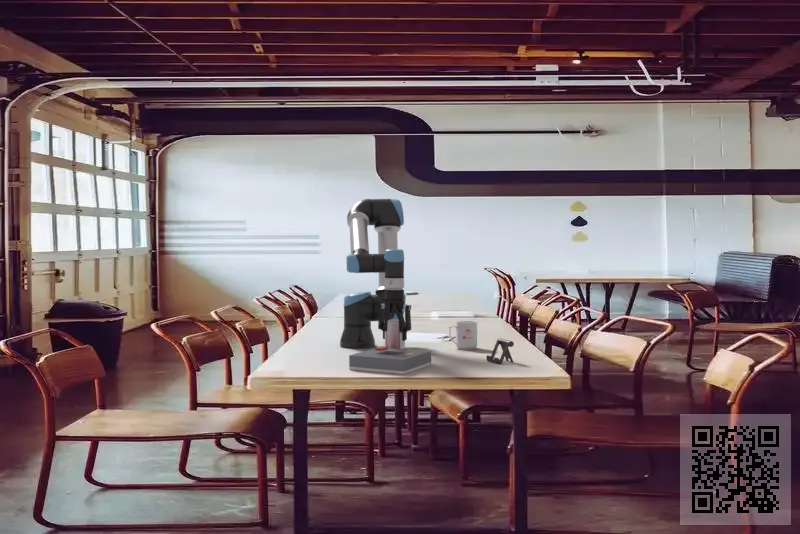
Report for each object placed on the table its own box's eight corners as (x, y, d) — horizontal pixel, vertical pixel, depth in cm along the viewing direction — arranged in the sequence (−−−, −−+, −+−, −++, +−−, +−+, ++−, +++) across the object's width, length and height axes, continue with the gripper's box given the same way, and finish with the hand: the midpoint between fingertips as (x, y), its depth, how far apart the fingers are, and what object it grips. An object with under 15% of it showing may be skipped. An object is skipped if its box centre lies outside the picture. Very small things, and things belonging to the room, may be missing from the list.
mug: (474, 346, 322) (474, 320, 322) (479, 349, 313) (479, 323, 313) (446, 347, 320) (446, 321, 320) (451, 350, 312) (451, 323, 311)
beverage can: (386, 357, 295) (386, 319, 294) (401, 356, 296) (401, 318, 295) (387, 359, 289) (387, 320, 289) (403, 359, 290) (402, 320, 289)
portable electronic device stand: (486, 361, 285) (486, 339, 285) (503, 359, 288) (504, 338, 288) (498, 364, 277) (498, 342, 277) (516, 363, 280) (516, 340, 280)
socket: (349, 369, 268) (349, 353, 268) (379, 360, 288) (379, 345, 287) (404, 374, 258) (403, 357, 258) (431, 364, 277) (431, 348, 277)
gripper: (368, 288, 292) (368, 347, 293) (411, 290, 284) (412, 351, 284) (377, 287, 299) (378, 345, 300) (420, 289, 290) (420, 348, 291)
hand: (394, 348), depth 292 cm, fingers closed on beverage can, 6 cm apart
